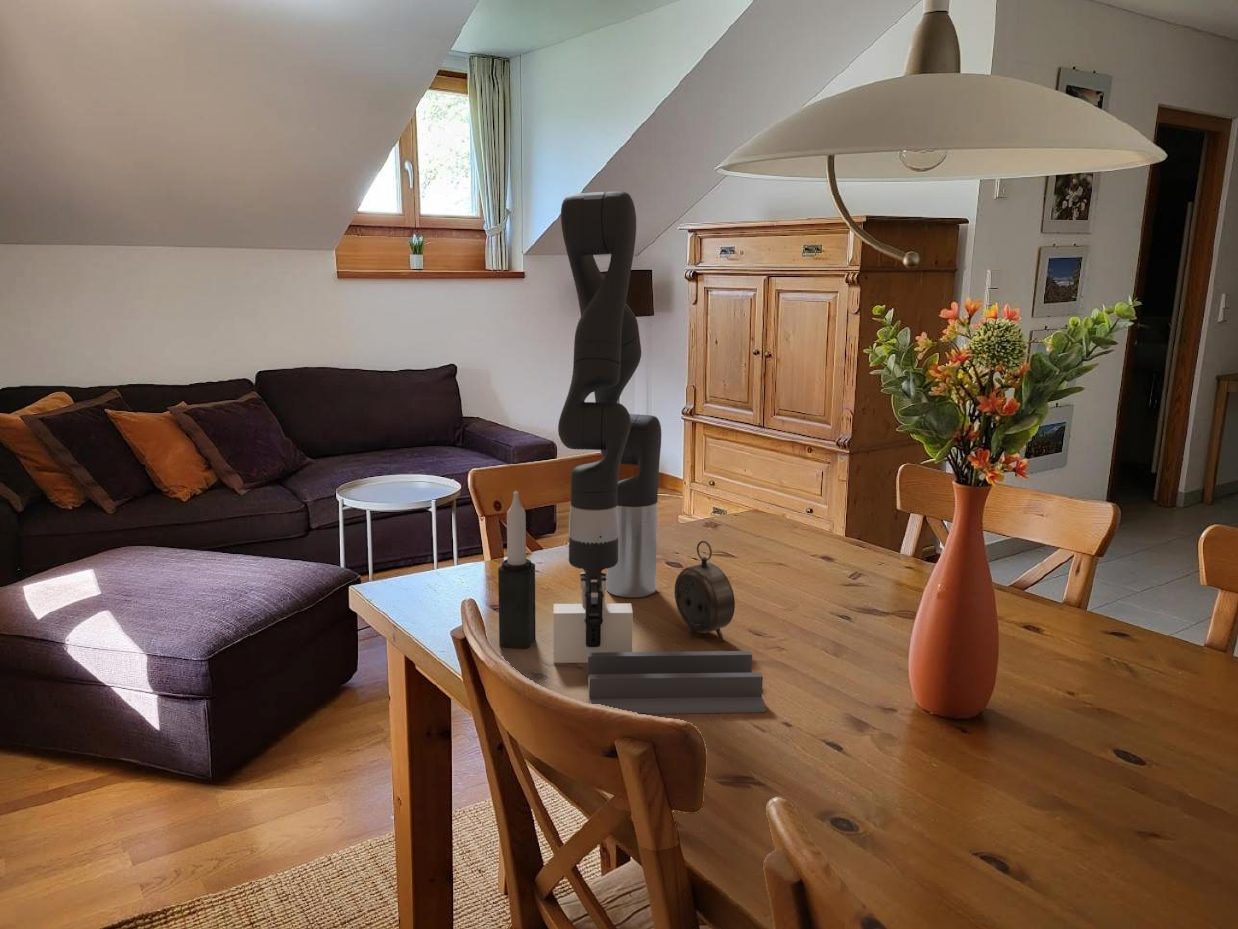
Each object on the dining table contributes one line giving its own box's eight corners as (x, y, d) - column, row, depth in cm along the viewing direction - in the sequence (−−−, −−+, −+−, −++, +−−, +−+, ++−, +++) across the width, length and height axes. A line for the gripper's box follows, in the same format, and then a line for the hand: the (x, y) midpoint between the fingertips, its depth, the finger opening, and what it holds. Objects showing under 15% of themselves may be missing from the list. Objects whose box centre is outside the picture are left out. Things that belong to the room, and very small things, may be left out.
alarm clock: (735, 643, 149) (739, 546, 146) (709, 650, 146) (713, 552, 143) (692, 621, 158) (695, 530, 154) (667, 628, 155) (669, 535, 151)
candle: (528, 649, 145) (526, 496, 140) (497, 646, 146) (494, 494, 141) (537, 637, 150) (536, 488, 145) (507, 634, 151) (505, 486, 146)
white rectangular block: (553, 652, 145) (553, 603, 143) (630, 651, 145) (630, 603, 144) (553, 662, 141) (553, 613, 139) (631, 662, 141) (632, 612, 140)
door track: (587, 670, 138) (587, 645, 137) (745, 668, 140) (747, 643, 139) (589, 714, 124) (590, 687, 124) (765, 712, 126) (766, 685, 125)
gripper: (621, 547, 132) (619, 659, 136) (616, 520, 146) (614, 622, 150) (568, 547, 132) (568, 659, 135) (568, 520, 146) (568, 623, 149)
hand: (592, 639), depth 142 cm, fingers closed on white rectangular block, 4 cm apart
